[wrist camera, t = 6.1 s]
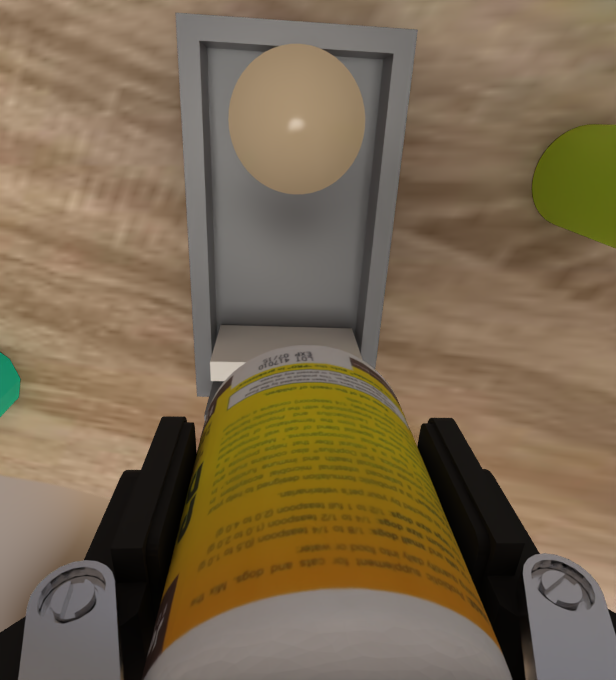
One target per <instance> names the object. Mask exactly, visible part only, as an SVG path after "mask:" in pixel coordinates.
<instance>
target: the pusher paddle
mask: <svg viewBox="0 0 616 680" xmlns="http://www.w3.org/2000/svg"><path fill="white" fill-rule="evenodd" d="M294 345H319V346H326V347H331V348H335V349H339V350H342V351H345V352H348V353H350V354H352V355H354V356H356V357H358V358H360V359H361V360H362V357H361V354H360V351H359V348H358V345H357V342H356V339H355V336H354V333H353V331H352V328H317V327H279V326H240V325H221V326H220V329H219V333H218V336H217V339H216V343H215V346H214V350H213V353H212V357H211V360H210V373H211V381H225V380H226V379H227V378H228V377H229V376H230V375H231V374H232V373H233V372H234V371H235V370H237V369H238V368H239V367H240V366H242V365H243V364H245V363H246V362H248V361H249V360H251V359H253V358H255V357H257V356H258V355H261V354H263V353H266V352H268V351H271V350H274V349H278V348H283V347H287V346H294Z"/></svg>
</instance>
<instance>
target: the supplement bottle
mask: <svg viewBox="0 0 616 680" xmlns="http://www.w3.org/2000/svg"><path fill="white" fill-rule="evenodd" d="M141 680H512V677H511V674H510V671H509V669H508V666H507V664H506V661H505V658H504V656H503V653H502V651H501V648H500V646H499V643H498V641H497V638H496V636H495V633H494V631H493V628H492V626H491V624H490V621H489V619H488V616H487V614H486V612H485V609H484V607H483V604H482V602H481V600H480V597H479V595H478V593H477V590H476V588H475V585H474V583H473V581H472V578H471V576H470V574H469V571H468V569H467V566H466V564H465V561H464V559H463V557H462V554H461V552H460V549H459V547H458V545H457V542H456V540H455V538H454V535H453V533H452V530H451V528H450V526H449V523H448V521H447V518H446V516H445V513H444V511H443V508H442V506H441V503H440V501H439V498H438V496H437V493H436V491H435V488H434V486H433V483H432V481H431V478H430V476H429V474H428V471H427V469H426V466H425V464H424V462H423V459H422V457H421V455H420V452H419V450H418V448H417V445H416V443H415V440H414V438H413V435H412V433H411V431H410V428H409V426H408V424H407V421H406V418H405V416H404V414H403V412H402V409H401V407H400V404H399V402H398V400H397V398H396V396H395V394H394V392H393V390H392V389H391V387H390V386H389V384H388V383H387V382H386V380H385V379H384V378H383V377H382V376H381V375H380V374H379V373H378V372H377V371H376V370H375V369H374V368H373V367H371V366H370V365H369V364H367V363H366V362H365V361H363V360H361V359H360V358H358V357H356V356H354V355H352V354H350V353H348V352H345V351H342V350H339V349H335V348H331V347H326V346H319V345H294V346H287V347H283V348H278V349H274V350H271V351H268V352H266V353H263V354H261V355H258V356H257V357H255V358H253V359H251V360H249V361H248V362H246V363H245V364H243V365H242V366H240V367H239V368H238V369H237V370H235V371H234V372H233V373H232V374H231V375H230V376H229V377H228V378H227V379H226V380H225V381H224V382H223V384H222V385H221V386H220V388H219V389H218V391H217V392H216V394H215V396H214V398H213V400H212V402H211V404H210V407H209V410H208V413H207V416H206V420H205V423H204V427H203V431H202V434H201V438H200V443H199V447H198V451H197V455H196V459H195V463H194V467H193V472H192V476H191V480H190V484H189V488H188V492H187V496H186V500H185V504H184V508H183V513H182V517H181V521H180V524H179V528H178V533H177V537H176V541H175V545H174V550H173V554H172V559H171V563H170V567H169V571H168V575H167V579H166V583H165V587H164V591H163V596H162V600H161V604H160V608H159V611H158V615H157V618H156V622H155V626H154V632H153V636H152V641H151V644H150V648H149V651H148V655H147V660H146V663H145V667H144V671H143V675H142V679H141Z"/></svg>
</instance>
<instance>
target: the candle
mask: <svg viewBox="0 0 616 680" xmlns="http://www.w3.org/2000/svg"><path fill="white" fill-rule="evenodd" d="M19 390H20V377H19V375H18V373H17V371H16V370H15V368H14V366H13V364H12V362H11V360H10V359H9V358H8V357H6V356H5V355H3V354H2V353H1V352H0V417H1V416H2V415H3V414H4V413H5V412H6V411H7V409H8V408H9V407H10V406H11V405H12V404H13V403H14V402H15V401H16V400H17V399H18V398H19Z"/></svg>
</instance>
